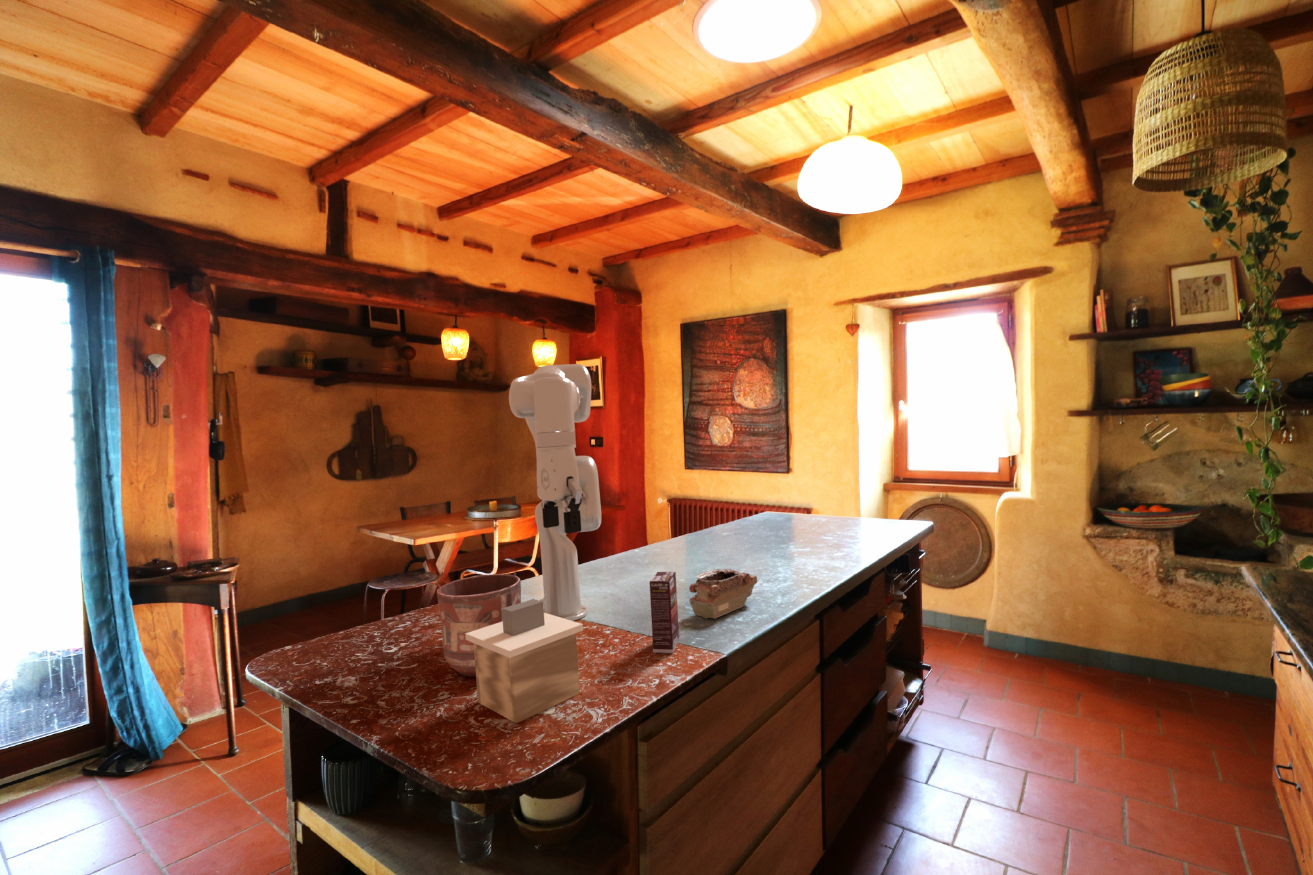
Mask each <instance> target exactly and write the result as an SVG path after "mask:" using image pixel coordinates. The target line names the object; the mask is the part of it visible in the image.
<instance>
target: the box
mask: <svg viewBox="0 0 1313 875" xmlns="http://www.w3.org/2000/svg"><path fill="white" fill-rule="evenodd" d="M577 646H578V643H577V633H575V634H572V635H570V636H567V637H564V638H562V639H559V640H556V641H554V642H551V643H548V644H546V645H543V646H540V647H538V648H535V649H533V650H530V651H527V652H525V653H522V654H519V655H517V656H514V657H511V658H509V657H506V656H504V655H501V654H499V653H496V652H494V651H492V650H489V649H487V648H484V647H482V646H480V645H477V644H475V643H474V655H475V669H476V678H475V680H476V694H477V703H479V704H480V705H482V706H483V707H485V708H488V709H489V710H491V711H492V712H495V713H497V714H498V715H500V716H503V717H504V718H506V719H508V720H509V721H510V722H513V723H515V724H518V723H520V722H523V721H525V720H527V719H529V718H531V717H533V716H536V715H537V714H539V713H542V712H544V711H546V710H548V709H550V708H552V707H554V706H556V705H559V704H560V703H563V702H565V701H568V700H569V699H571V698H573V697H575V696H577V695H580V694H581V690H580V689H581V687H580V675H579V660H578V647H577Z"/></svg>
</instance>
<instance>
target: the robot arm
mask: <svg viewBox="0 0 1313 875" xmlns="http://www.w3.org/2000/svg"><path fill="white" fill-rule="evenodd" d="M508 393H509V394H508V402H509V406H510V407H509V408H510V411H511V413H512V414H513V415H514V416H515V417H516V418H519V419H525V422H526V424H527V427H528V429H529V431H530V433H531V436H532V437H533V439H534V440H533V441H534V445H535V453H536V454H535V456H536V491H537V492H536V495H537V497H538V498H539V499H540V500H541V502H539V503H538V504H537V505H536V507H535V510H534V518H535V519H534V520H535V523H536V524H535V525H536V528H537V533H538V539H539V546H540V556H541V572H542V585H543V598H541V599H539V601H543V608H544V613H547V614H550V615H554V616H557V617H561V618H564V619H567V620H571V621H574V622H575V621H577V620H580V619H582V618H583V617H585V616H586V615H588V609H587V607H586V606H584V605H583V604H582V603H581V593H580V592H581V590H580V576H579V575H580V574H579V560H578V550H577V546H576V545H575V543H573V541H572V540H571V539H570V538H569V537H568V536H567V535H568V534H574V533H584V532H592V531H593V532H594V531H596V530H598V529H599V528H600V526H601V524H602V506H601V495H600V493H601V492H600V484H599V483H600V482H599V481H600V479H599V474H598V473H599V472H598V466H597V464H596V462H595V460H594V459H593V458H592V457H591V456H589V455H576V452H575V451H576V450H575V448H577V446H576V445H577V443H576V428H575V423H583V422H586V421H587V419H589V417H590V415H591V404H592V403H591V402H592V379H591V375H590V371H589V370H588V368H587V367H586V366H585V365H583V364H580V363H579V364H578V363H574V364H573V363H570V364H567V363H566V364H547V365H543V366H540V367H538V368H537V369H536V370H535V371H533V373H531V374H528V375H527V374H526V375H523V376H518V377H516V378H514V379H513V380H512V382H511V383H510V388H509V392H508ZM581 604H582V605H581Z"/></svg>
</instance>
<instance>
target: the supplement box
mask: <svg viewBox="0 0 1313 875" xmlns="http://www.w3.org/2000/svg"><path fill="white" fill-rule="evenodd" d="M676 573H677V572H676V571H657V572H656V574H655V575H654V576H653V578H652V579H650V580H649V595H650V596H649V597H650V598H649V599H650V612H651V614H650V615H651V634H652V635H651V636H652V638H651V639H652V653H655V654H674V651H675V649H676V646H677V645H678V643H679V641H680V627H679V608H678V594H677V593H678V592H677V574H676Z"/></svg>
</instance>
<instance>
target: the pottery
mask: <svg viewBox="0 0 1313 875" xmlns="http://www.w3.org/2000/svg"><path fill="white" fill-rule="evenodd" d="M521 582H522V581H521V578H520V577H519V576H517V575H514V574H508V573H507V574H505V573H504V574H503V573H496V574H495V573H493V574H492V573H491V574H482V575H474V576H473V575H472V576H470V577H464V578H460V579H456V580H453V581H450V582H447V583H446V584H443V585H441V587H439V588H438V589H436V599H437V602H438V608H439V613H440V619H441V627H442V629H441V630H442V652H443V656H444V659H445V661H446V663H447V664H448V665H449V666H450V668H452V670H455V671H456V672H457V673H458V674H460V675H462V676H463V677H468V678H469V677H470V678H471V677H472V678H473V677H476V669H475V655H474V643H472V642H470V641H467V640H466V636H465V633H468V632H471V631H475V630H478V629H481V628H484V627H487V626H490V625H493V624H496V623H499V622H502V621H503V619H502V608H505V607H509V606H512V605H515V604H519V603H522V583H521Z"/></svg>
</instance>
